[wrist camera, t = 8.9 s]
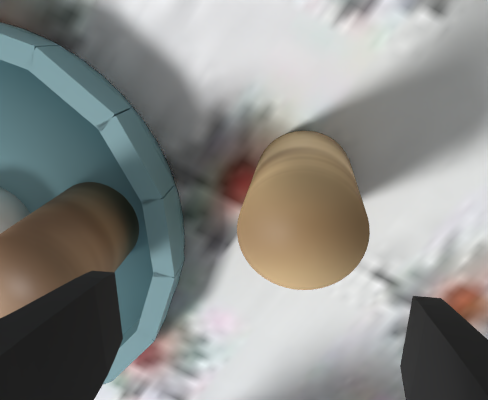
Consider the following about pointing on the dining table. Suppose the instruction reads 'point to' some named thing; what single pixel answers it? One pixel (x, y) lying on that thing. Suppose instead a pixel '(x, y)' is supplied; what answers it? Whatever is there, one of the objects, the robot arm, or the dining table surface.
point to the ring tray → (89, 169)
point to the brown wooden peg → (65, 243)
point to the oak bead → (303, 213)
